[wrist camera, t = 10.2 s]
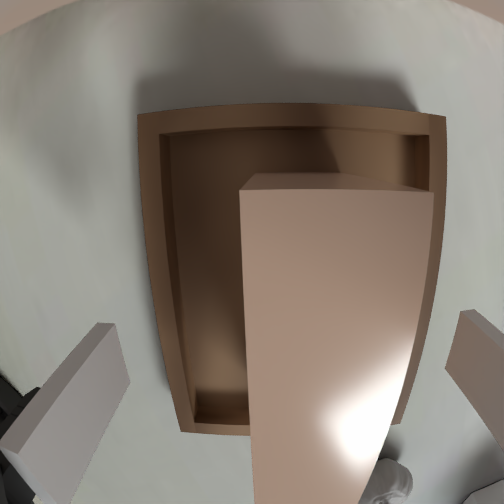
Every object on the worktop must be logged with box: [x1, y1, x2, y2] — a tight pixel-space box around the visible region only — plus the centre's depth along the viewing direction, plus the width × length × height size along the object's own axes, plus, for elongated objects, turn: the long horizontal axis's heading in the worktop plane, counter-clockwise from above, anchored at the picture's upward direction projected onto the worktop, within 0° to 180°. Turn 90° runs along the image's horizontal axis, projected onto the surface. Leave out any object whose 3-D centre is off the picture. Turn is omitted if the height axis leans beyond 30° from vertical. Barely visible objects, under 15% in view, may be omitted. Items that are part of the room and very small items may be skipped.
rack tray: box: [137, 103, 447, 436], centre depth 16 cm, size 14×18×2 cm
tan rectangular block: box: [239, 172, 434, 504], centre depth 12 cm, size 4×12×9 cm, turn 2°
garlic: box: [358, 458, 413, 504], centre depth 19 cm, size 6×5×5 cm
